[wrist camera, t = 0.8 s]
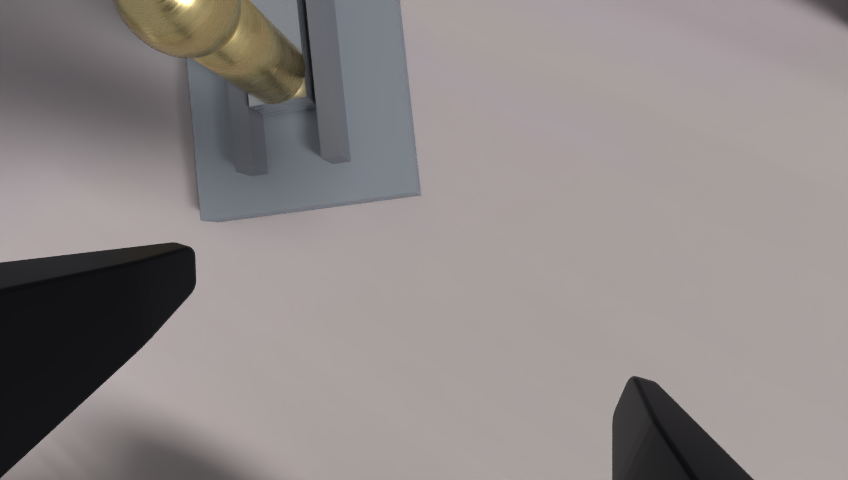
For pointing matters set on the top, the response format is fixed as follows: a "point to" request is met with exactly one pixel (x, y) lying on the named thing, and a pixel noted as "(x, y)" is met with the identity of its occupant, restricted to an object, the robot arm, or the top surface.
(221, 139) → the grey railed plate
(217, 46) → the brass ball knob
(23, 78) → the top surface
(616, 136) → the top surface
